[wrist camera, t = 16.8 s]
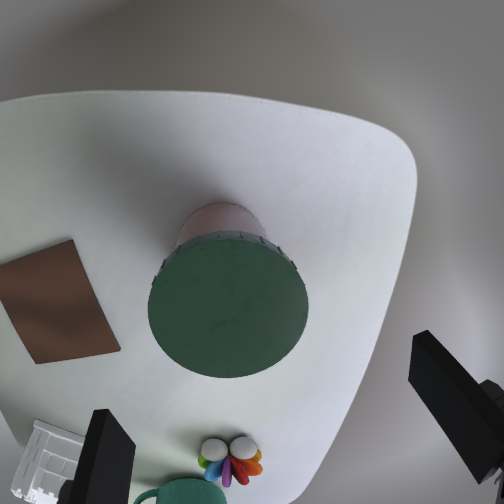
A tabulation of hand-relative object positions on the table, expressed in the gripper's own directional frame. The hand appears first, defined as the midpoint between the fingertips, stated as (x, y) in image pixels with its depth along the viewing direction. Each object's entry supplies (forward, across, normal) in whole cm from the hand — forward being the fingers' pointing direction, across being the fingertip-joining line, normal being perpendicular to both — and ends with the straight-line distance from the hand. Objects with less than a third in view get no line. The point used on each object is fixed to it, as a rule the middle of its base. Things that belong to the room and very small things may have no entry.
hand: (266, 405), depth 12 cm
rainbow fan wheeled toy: (+21, -9, -32) cm, 40 cm away
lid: (+8, -1, 0) cm, 8 cm away
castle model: (+21, -37, -31) cm, 52 cm away
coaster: (+21, -23, -2) cm, 32 cm away
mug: (+21, -21, -42) cm, 52 cm away
